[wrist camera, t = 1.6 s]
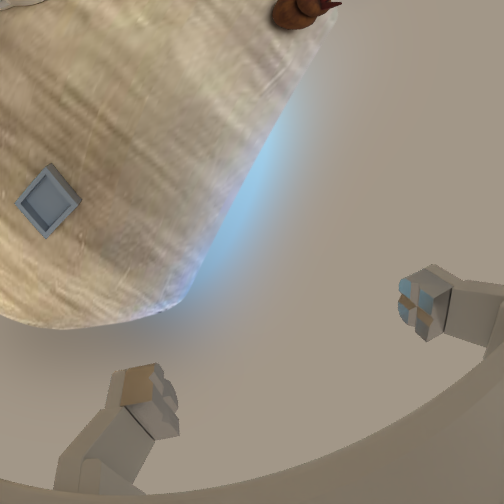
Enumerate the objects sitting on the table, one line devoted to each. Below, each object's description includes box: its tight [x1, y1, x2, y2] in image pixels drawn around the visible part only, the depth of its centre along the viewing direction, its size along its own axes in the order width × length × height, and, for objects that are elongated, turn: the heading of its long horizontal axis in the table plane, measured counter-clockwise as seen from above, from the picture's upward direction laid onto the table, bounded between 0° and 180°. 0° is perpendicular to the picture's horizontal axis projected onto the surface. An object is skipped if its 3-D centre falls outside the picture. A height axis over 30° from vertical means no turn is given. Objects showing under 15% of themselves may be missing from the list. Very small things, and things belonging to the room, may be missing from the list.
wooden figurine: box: [273, 0, 342, 30], centre depth 29 cm, size 7×6×15 cm
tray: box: [14, 163, 82, 239], centre depth 34 cm, size 8×8×3 cm
